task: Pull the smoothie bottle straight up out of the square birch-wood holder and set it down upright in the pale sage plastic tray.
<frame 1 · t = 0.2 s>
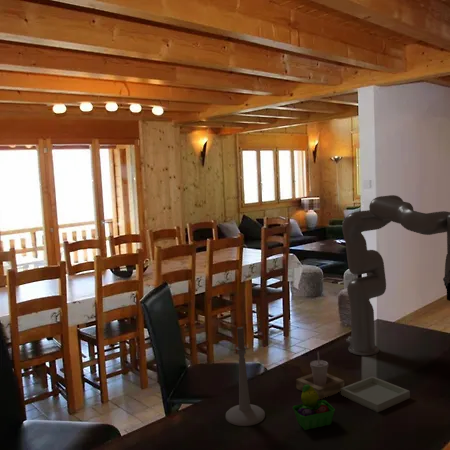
holder: (320, 389, 177), on the table
candlestick: (245, 416, 161), on the table
smoothie: (320, 389, 177), resting in holder
tray: (374, 396, 169), on the table
fruit basket: (313, 423, 154), on the table
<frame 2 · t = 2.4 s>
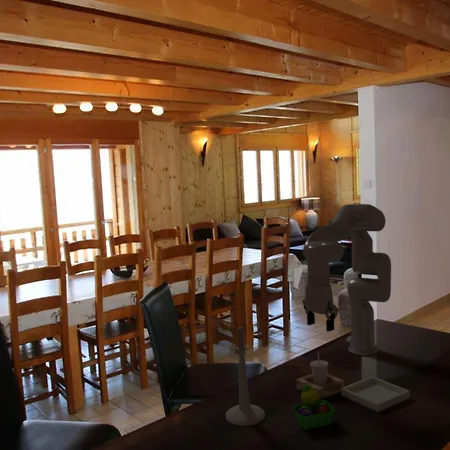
hand: (320, 327, 174), 23 cm above the table, tool pointing down, fingers open, 9 cm apart
nothing on the table moved.
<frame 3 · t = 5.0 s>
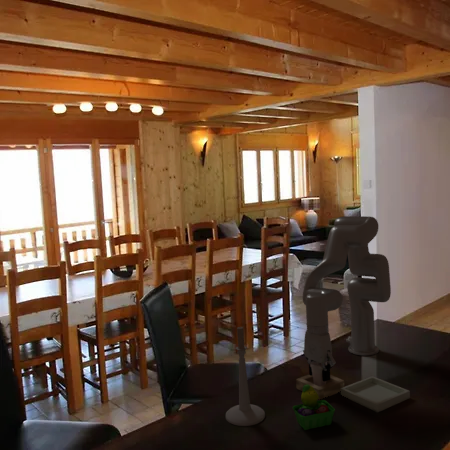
hand: (319, 376, 176), 5 cm above the table, tool pointing down, fingers closed on smoothie, 6 cm apart
smoothie: (320, 389, 177), resting in holder, touching gripper
everything else where it was.
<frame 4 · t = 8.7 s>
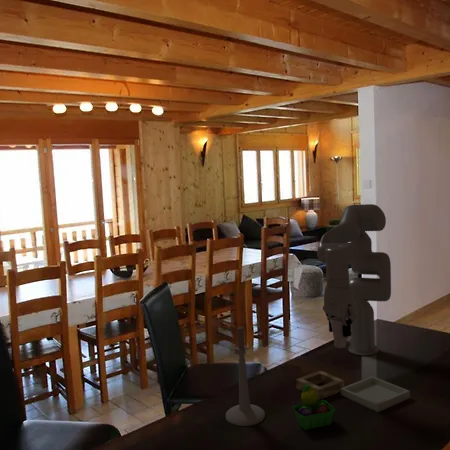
hand: (339, 333, 171), 21 cm above the table, tool pointing down, fingers closed on smoothie, 6 cm apart
smoothie: (340, 346, 172), point 17 cm above the table, touching gripper
everything else where it was.
when the fingers open (6 cm above the table, at t = 12.8 s): smoothie drops 1 cm, resting on tray.
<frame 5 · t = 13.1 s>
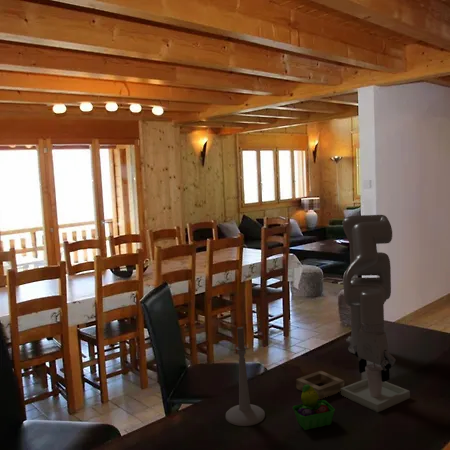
hand: (374, 376, 168), 7 cm above the table, tool pointing down, fingers open, 9 cm apart
smoothie: (375, 395, 169), resting on tray
everything else where it was.
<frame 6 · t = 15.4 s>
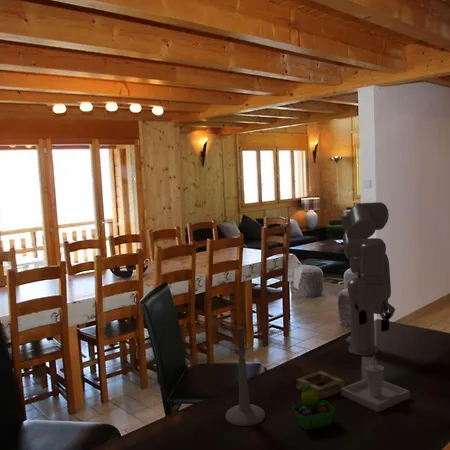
hand: (373, 327, 170), 23 cm above the table, tool pointing down, fingers open, 9 cm apart
nothing on the table moved.
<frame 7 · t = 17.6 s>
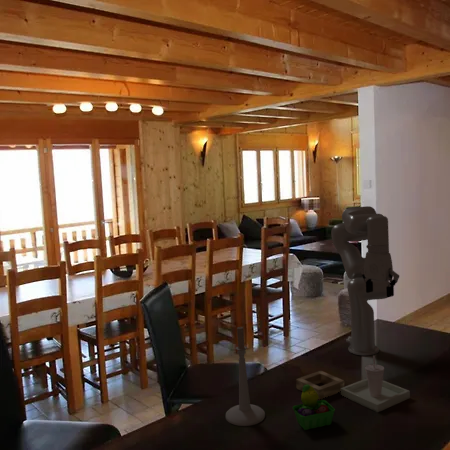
hand: (379, 294, 185), 30 cm above the table, tool pointing down, fingers open, 9 cm apart
nothing on the table moved.
at the end: smoothie inside the target area on the tray (0.3 cm from its centre), point 0.4 cm above the tray's base; smoothie tilted 0°; the gripper is holding nothing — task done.
